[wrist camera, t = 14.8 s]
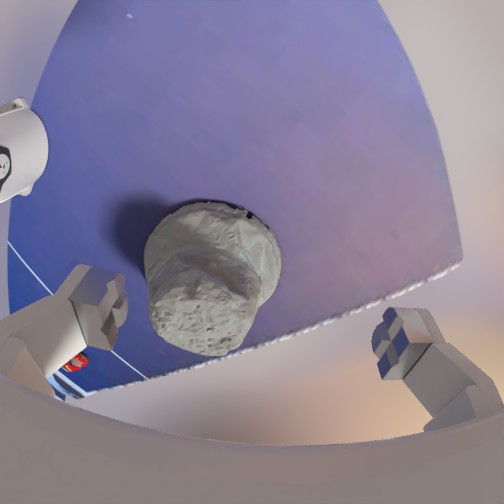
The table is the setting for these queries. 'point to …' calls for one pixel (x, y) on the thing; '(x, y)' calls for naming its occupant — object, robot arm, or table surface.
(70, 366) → the race car
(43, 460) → the robot arm
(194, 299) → the hat
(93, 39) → the table surface
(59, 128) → the table surface
